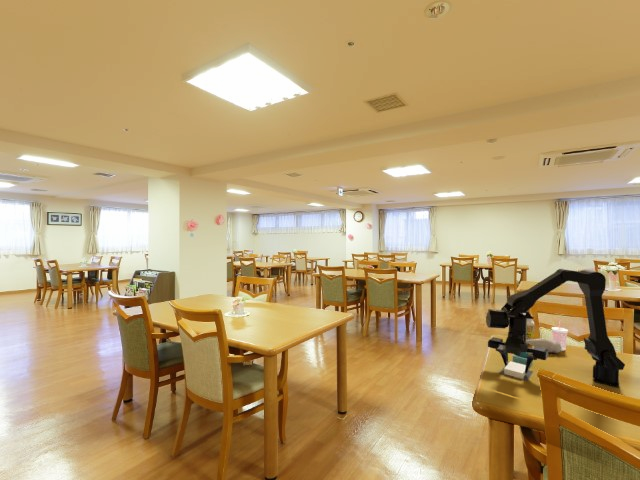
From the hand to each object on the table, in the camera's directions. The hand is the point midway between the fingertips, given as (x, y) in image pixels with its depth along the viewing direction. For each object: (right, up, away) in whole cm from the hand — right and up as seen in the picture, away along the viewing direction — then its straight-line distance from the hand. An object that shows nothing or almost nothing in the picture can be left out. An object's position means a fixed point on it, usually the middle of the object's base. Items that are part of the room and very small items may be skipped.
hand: (516, 370), depth 122 cm
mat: (0, -1, 0) cm, 1 cm away
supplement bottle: (+26, 0, +35) cm, 43 cm away
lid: (0, -1, 0) cm, 1 cm away
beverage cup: (+35, -1, +26) cm, 44 cm away
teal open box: (+8, -1, +8) cm, 11 cm away
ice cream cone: (+25, -1, +22) cm, 33 cm away
